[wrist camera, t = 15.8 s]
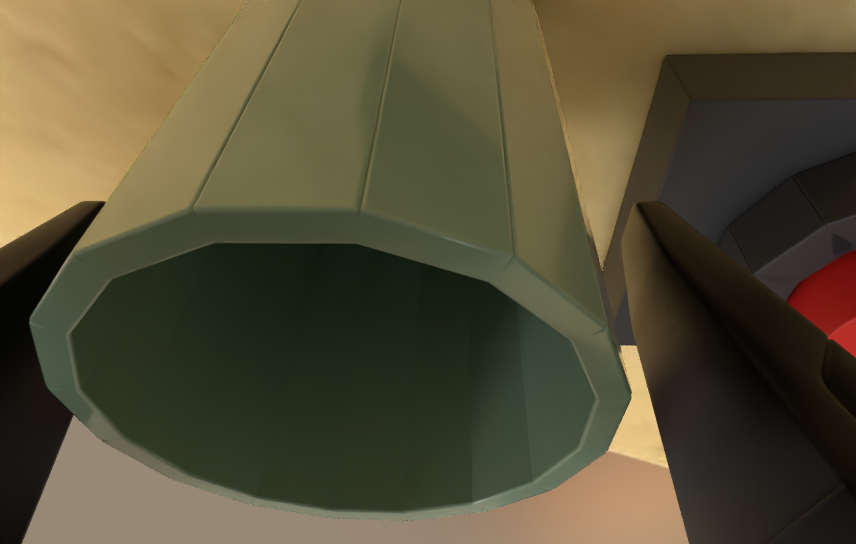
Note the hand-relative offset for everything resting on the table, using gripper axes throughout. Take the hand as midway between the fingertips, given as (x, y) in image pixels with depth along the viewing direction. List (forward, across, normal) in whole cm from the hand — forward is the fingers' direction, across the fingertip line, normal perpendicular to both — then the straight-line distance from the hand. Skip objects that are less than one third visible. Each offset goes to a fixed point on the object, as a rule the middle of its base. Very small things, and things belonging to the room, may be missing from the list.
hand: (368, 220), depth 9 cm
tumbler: (+6, 0, 0) cm, 6 cm away
